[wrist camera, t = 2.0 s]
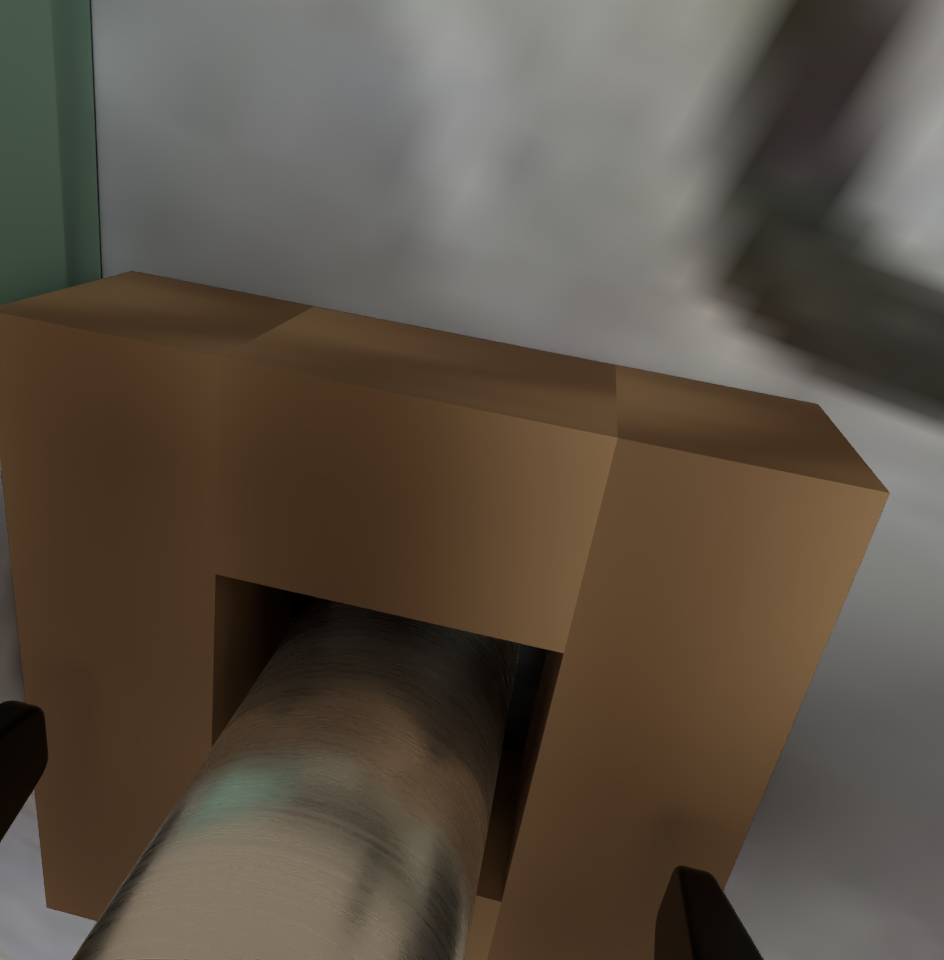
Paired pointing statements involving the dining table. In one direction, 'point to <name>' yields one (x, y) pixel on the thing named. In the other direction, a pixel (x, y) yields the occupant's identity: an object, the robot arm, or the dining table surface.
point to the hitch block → (416, 574)
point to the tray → (47, 149)
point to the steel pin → (331, 804)
